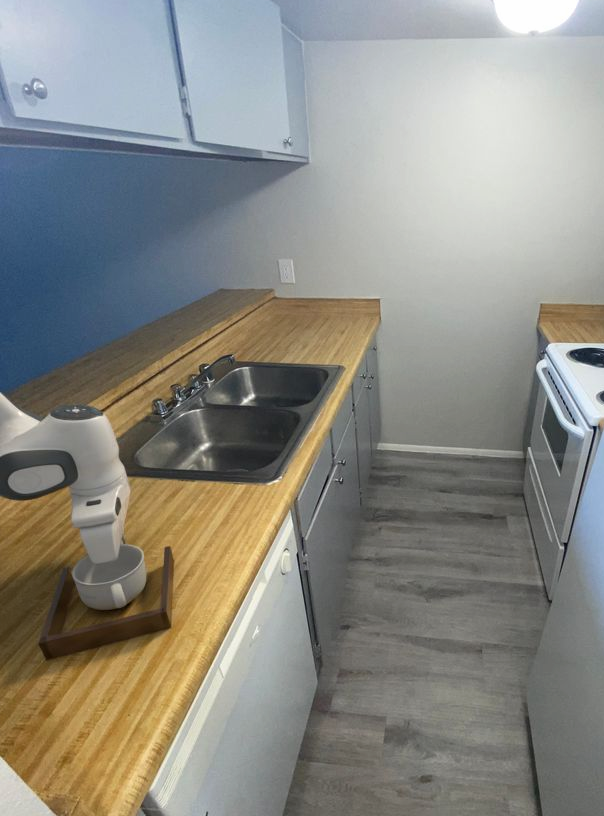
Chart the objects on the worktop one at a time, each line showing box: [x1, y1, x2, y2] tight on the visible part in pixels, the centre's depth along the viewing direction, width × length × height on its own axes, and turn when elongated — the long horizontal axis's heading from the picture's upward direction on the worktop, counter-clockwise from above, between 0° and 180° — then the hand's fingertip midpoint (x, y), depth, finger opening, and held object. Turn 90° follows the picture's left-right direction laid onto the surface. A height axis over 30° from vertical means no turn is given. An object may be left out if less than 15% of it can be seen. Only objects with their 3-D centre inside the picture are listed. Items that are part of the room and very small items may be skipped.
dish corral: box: [37, 545, 175, 661], centre depth 84 cm, size 18×17×4 cm
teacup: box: [71, 543, 147, 611], centre depth 83 cm, size 14×11×8 cm
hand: (120, 547), depth 91 cm, fingers closed
